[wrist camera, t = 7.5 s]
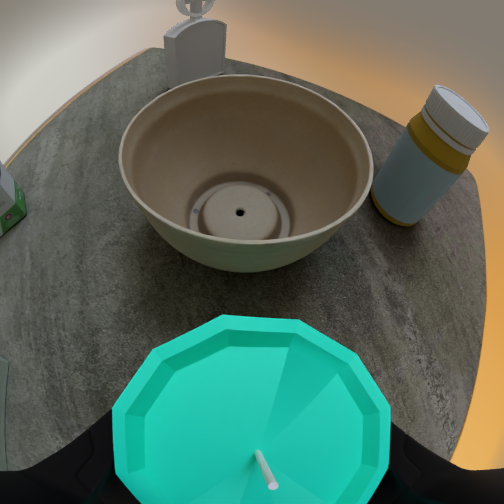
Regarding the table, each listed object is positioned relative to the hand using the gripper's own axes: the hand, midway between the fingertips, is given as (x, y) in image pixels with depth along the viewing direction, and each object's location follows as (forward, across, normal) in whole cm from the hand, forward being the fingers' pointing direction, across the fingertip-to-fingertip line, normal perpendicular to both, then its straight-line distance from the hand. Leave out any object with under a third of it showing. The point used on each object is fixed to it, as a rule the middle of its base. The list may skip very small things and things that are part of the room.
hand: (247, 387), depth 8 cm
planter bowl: (+19, 0, -1) cm, 19 cm away
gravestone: (+38, +9, -21) cm, 44 cm away
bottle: (+22, -17, -4) cm, 28 cm away
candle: (+4, 0, +6) cm, 7 cm away
